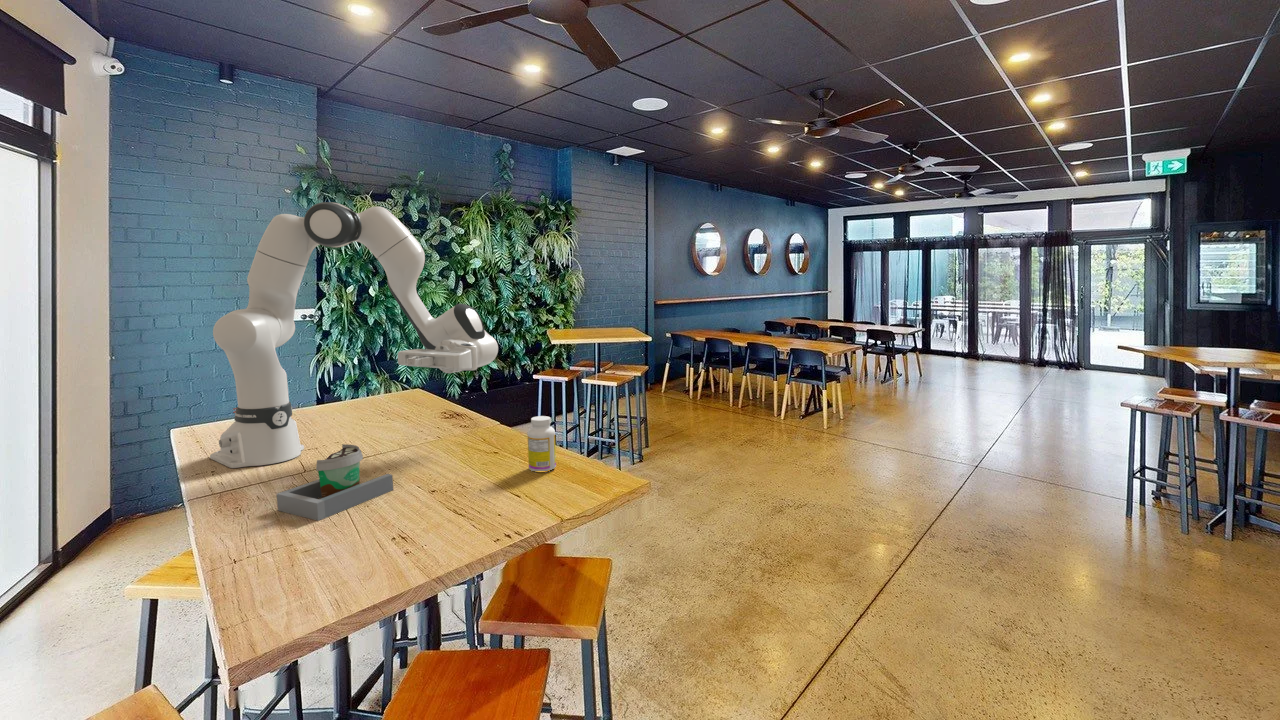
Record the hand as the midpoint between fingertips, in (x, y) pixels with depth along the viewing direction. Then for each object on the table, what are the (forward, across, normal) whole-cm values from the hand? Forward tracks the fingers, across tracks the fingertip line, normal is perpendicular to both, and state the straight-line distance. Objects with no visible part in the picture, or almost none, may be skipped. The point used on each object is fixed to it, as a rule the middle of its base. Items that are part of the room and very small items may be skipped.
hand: (410, 362), depth 140 cm
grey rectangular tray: (+23, +2, +26) cm, 35 cm away
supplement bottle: (-11, +30, +26) cm, 41 cm away
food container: (+22, +2, +26) cm, 34 cm away
